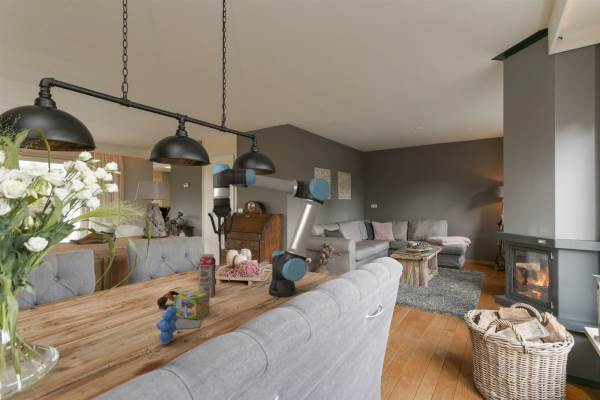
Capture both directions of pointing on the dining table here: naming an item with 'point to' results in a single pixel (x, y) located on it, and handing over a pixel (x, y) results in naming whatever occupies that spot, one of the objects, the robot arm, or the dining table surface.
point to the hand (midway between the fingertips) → (222, 248)
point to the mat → (187, 323)
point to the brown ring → (166, 298)
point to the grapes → (167, 325)
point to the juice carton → (207, 274)
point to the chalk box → (192, 305)
